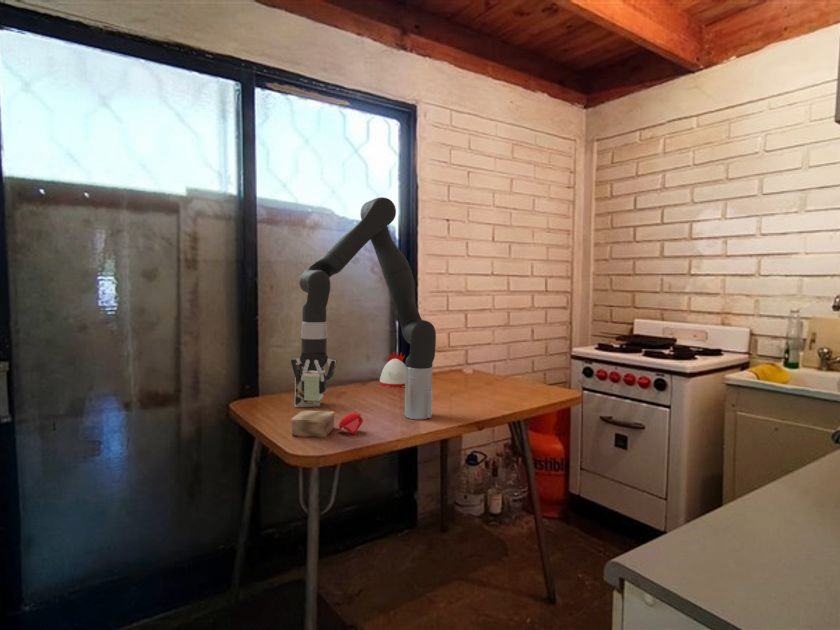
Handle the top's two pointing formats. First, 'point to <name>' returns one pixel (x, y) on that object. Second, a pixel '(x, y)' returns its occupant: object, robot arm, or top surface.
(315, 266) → the robot arm
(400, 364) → the kitchen timer
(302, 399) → the coffee box
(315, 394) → the tea tin
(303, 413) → the beige flat block
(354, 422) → the cap
